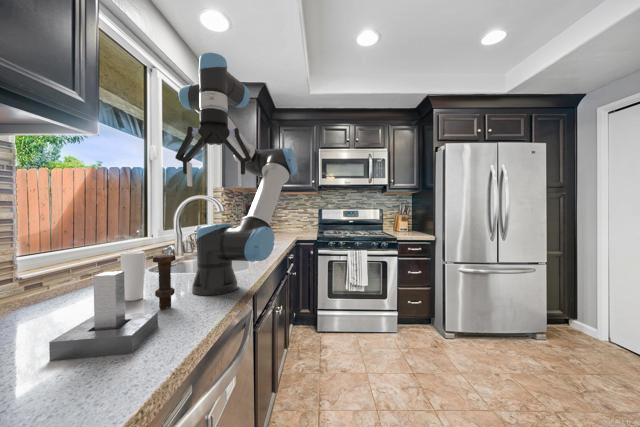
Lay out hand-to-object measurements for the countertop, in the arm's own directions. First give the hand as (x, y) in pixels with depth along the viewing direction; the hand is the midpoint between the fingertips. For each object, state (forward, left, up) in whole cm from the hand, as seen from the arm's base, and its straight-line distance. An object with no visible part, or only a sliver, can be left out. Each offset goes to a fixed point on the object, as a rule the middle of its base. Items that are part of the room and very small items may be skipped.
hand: (215, 186), depth 84 cm
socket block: (+18, -19, -35) cm, 43 cm away
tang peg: (+18, -19, -34) cm, 43 cm away
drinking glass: (-16, -28, -35) cm, 48 cm away
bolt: (-4, -15, -35) cm, 38 cm away
